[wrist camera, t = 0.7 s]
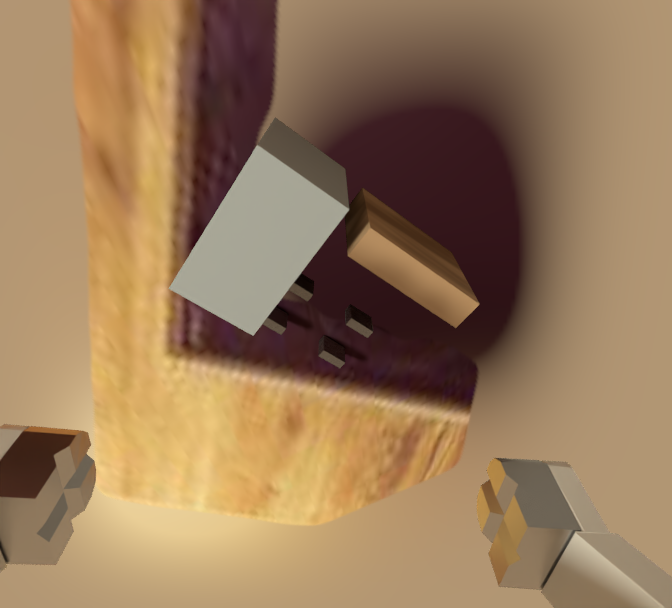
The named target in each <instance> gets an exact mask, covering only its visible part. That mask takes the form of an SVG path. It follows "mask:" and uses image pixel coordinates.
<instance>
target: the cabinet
mask: <svg viewBox="0 0 672 608" xmlns="http://www.w3.org/2000/svg"><path fill="white" fill-rule="evenodd" d="M348 211H349V200H348V191H347V181H346V171H345V168H343V167H342V166H341V165H339V164H338V163H336V162H335V161H334V160H333V159H331V158H330V157H328V156H327V155H326V154H324V153H323V152H322V151H320V150H319V149H317V148H316V147H315V146H313V145H312V144H310V143H309V142H308V141H307V140H305V139H304V138H302V137H301V136H300V135H298V134H297V133H296V132H294V131H293V130H292V129H290V128H289V127H287V126H286V125H285V124H283V123H282V122H281V121H279V120H278V119H277V118H275V119H274V120H273V122H272V123H271V125H270V126H269V128H268V129H267V131H266V133H265V134H264V136H263V137H262V139H261V140H260V142H259V143H258V145H257V146H256V148H255V150H254V151H253V153H252V154H251V156H250V158H249V159H248V161H247V163H246V164H245V166H244V167H243V169H242V171H241V172H240V174H239V176H238V177H237V179H236V180H235V182H234V184H233V185H232V187H231V189H230V190H229V192H228V193H227V195H226V197H225V198H224V200H223V202H222V203H221V205H220V206H219V208H218V210H217V211H216V213H215V214H214V216H213V218H212V219H211V221H210V223H209V224H208V226H207V227H206V229H205V231H204V232H203V234H202V236H201V237H200V239H199V240H198V242H197V244H196V245H195V247H194V249H193V250H192V252H191V253H190V255H189V257H188V258H187V260H186V262H185V263H184V265H183V266H182V268H181V270H180V271H179V273H178V274H177V276H176V278H175V279H174V281H173V283H172V284H171V286H170V287H169V289H170V290H172V291H174V292H176V293H178V294H179V295H181V296H183V297H185V298H186V299H188V300H190V301H192V302H194V303H195V304H197V305H199V306H201V307H203V308H204V309H206V310H208V311H210V312H212V313H213V314H215V315H217V316H219V317H220V318H222V319H224V320H226V321H228V322H229V323H231V324H233V325H235V326H237V327H238V328H240V329H242V330H244V331H246V332H247V333H249V334H251V335H254V334H255V333H256V331H257V330H258V329H259V328H260V326H261V325H262V324H263V322H264V321H265V320H266V318H267V317H268V316H269V314H270V313H271V312H272V310H273V309H274V308H275V307H276V305H277V304H278V303H279V301H280V300H281V299H282V297H283V296H284V295H285V293H286V292H287V291H288V289H289V288H290V287H291V286H292V284H293V283H294V282H295V280H296V279H297V278H298V276H299V275H300V274H301V272H302V271H303V270H304V268H305V267H306V266H307V265H308V263H309V262H310V261H311V259H312V258H313V257H314V255H315V254H316V253H317V251H318V250H319V249H320V247H321V246H322V245H323V243H324V242H325V241H326V240H327V238H328V237H329V235H330V234H331V233H332V232H333V230H334V229H335V228H336V226H337V225H338V224H339V223H340V221H341V220H342V219H343V217H344V216H345V215H346V213H347V212H348Z"/></svg>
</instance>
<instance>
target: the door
mask: <svg viewBox="0 0 672 608" xmlns="http://www.w3.org/2000/svg"><path fill="white" fill-rule="evenodd" d="M345 223H346V238H347V253H348V257H350V258H352V259H353V260H355V261H356V262H357V263H359V264H360V265H362V266H364V267H365V268H367V269H368V270H370V271H371V272H373V273H374V274H376V275H377V276H379V277H380V278H382V279H383V280H385V281H386V282H388V283H389V284H391V285H392V286H394V287H395V288H397V289H398V290H400V291H401V292H403V293H404V294H406V295H407V296H409V297H410V298H412V299H413V300H415V301H416V302H418V303H419V304H421V305H422V306H424V307H425V308H427V309H428V310H430V311H431V312H433V313H434V314H436V315H437V316H439V317H440V318H442V319H443V320H445V321H446V322H448V323H449V324H451V325H452V326H454V327H455V328H456V327H457V326H458V325H459V324H460V323H461V322H462V321H463V320H464V319H465V318H466V317H467V316H468V315H469V314H470V313H471V312H472V311H473V310H474V309H475V308H476V307H477V306H478V305H479V302H478V300H477V298H476V297H475V295H474V293H473V291H472V289H471V287H470V286H469V284H468V282H467V280H466V278H465V276H464V274H463V273H462V271H461V269H460V267H459V265H458V263H457V262H456V260H455V258H454V256H453V254H452V252H450V251H449V250H447V249H446V248H445V247H443V246H442V245H441V244H439V243H438V242H436V241H435V240H434V239H432V238H431V237H430V236H428V235H427V234H425V233H424V232H423V231H421V230H420V229H419V228H417V227H416V226H414V225H413V224H412V223H410V222H409V221H408V220H406V219H405V218H403V217H402V216H401V215H399V214H398V213H397V212H395V211H394V210H392V209H391V208H390V207H388V206H387V205H386V204H384V203H383V202H382V201H380V200H379V199H377V198H376V197H375V196H373V195H372V194H370V193H369V192H368V191H366V190H365V189H364V188H362V189H361V191H360V192H359V193H358V194H357V196H356V197H355V198H354V200H353V201H352V202H351V204H350V205H349V211H348V212H347V213H346V215H345Z"/></svg>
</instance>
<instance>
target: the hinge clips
mask: <svg viewBox="0 0 672 608" xmlns="http://www.w3.org/2000/svg"><path fill="white" fill-rule="evenodd" d="M313 289H314V281H312V280H311V279H309V278H308V277H306V276H304V275H303V274H300V275H299V276H298V278H297V279H296V280H295V282H294V283H293V284H292V286H291V287H290V288H289V289H288V290H290V291H291V292H293V293H295V294H296V295H298V296H300V297H302V298H303V299H305V300H306V301H308V300H309V299H310V298H311V297H312V295H313ZM345 316H346V325H347V326H349V327H351V328H352V329H354V330H355V331H357V332H359V333H360V334H362V335H364V336H365V337H367V338H368V337H369V336H370V335H371V334H372V333H373V326H372V320H371V317H370V316H368V315H367V314H365V313H364V312H362V311H360V310H359V309H357V308H356V307H354V306H352V305H349V307H348V308H347V309H346V310H345ZM287 320H288V314H287V313H285V312H284V311H282V310H280V309H279V308H277V307H275V308H274V309H273V310H272V312H271V313H270V314H269V316H268V317H267V318H266V320H265V321H264V322H263V325H265V326H267V327H269V328H270V329H272V330H274V331H276V332H277V333H279V334H282V333H283V332H284V331H285V329H286V326H287ZM319 357H321V358H323V359H325V360H326V361H328V362H330V363H332V364H333V365H335V366H337V367H339V368H341V367H342V366H343V364H344V363H345V348H344V347H343V346H341V345H340V344H338V343H336V342H335V341H333V340H331V339H329V338H328V337H326V336H323V337H322V338H321V339H320V341H319Z"/></svg>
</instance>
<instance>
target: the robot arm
mask: <svg viewBox="0 0 672 608" xmlns="http://www.w3.org/2000/svg"><path fill="white" fill-rule="evenodd" d="M90 446H91V443H90V439H89V435H88V433H87V432H84V431H79V430H68V429H57V428H47V427H36V426H20V425H8V424H4V425H2V426H0V572H1V571H2V570H4V569H5V568H6V567H7V565H6V564H36V565H38V564H39V565H56V564H57V562H58V560H59V558H60V556H61V555H62V553H63V551H64V549H65V547H66V545H67V543H68V541H69V539H70V537H71V535H72V533H73V532H74V531H73V526H72V523H71V519H73V518H74V517H76V516H77V515H79V514H80V513H81V512H83V511H84V510H85V508H86V506H87V504H88V502H89V500H90V498H91V496H92V492H93V488H94V485H95V481H96V467H95V462H94V460H93V459H92V458H90V457H89V456H88V455H87V454H86V453H87V451H88V449H89V447H90ZM487 473H488V476H489V480H488V481H486V482H485V483H484V484H482V485H481V487H480V490H479V493H478V496H477V515H478V521H479V524H480V528H481V531H482V533H483V534H484V535H485V536H486V537H487V538H488V539H489V540H490V541H491V542H492V546H491V548H490V551H489V557H490V560H491V563H492V566H493V570H494V572H495V576H496V579H497V582H498V585H499V587H512V588H524V589H537V590H542V591H541V593H542V594H543V595H544V596H545V597H546V599H547V600H548V601H549V602H550V603H551V605H553V607H554V608H672V577H671V576H670V575H669V574H667V573H666V572H665V571H664V570H662V569H661V568H660V567H659V566H657V565H656V564H655V563H654V562H652V561H651V560H650V559H648V558H647V557H646V556H645V555H643V554H642V553H641V552H640V551H638V550H637V549H636V548H634V547H633V546H632V545H631V544H630V543H628V542H627V541H626V540H625V539H623V538H622V537H621V536H620V535H618V534H613V533H610V532H609V530H608V529H607V527H606V525H605V524H604V522H603V520H602V518H601V516H600V515H599V513H598V511H597V510H596V508H595V506H594V504H593V503H592V501H591V499H590V498H589V496H588V494H587V492H586V491H585V489H584V487H583V486H582V484H581V482H580V480H579V479H578V477H577V475H576V473H575V472H574V470H573V468H572V467H571V466H570V465H569V464H568V463H567V462H556V461H539V460H524V459H507V458H494V459H493V460H492V461H491V462H490V463H489V466H488V468H487Z"/></svg>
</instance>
